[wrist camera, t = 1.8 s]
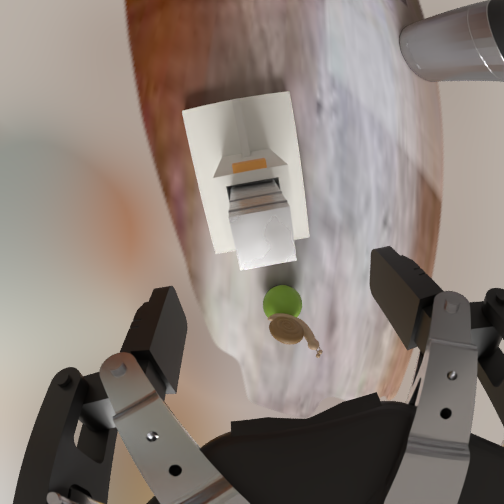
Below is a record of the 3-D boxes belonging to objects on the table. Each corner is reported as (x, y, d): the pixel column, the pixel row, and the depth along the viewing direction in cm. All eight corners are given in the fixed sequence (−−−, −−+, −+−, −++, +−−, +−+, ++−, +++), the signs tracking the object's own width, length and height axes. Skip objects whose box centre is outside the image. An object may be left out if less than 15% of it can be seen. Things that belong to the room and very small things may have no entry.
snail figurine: (296, 311, 43) (312, 369, 32) (257, 304, 42) (263, 365, 31) (309, 283, 40) (331, 339, 30) (267, 274, 39) (278, 332, 29)
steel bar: (232, 165, 30) (227, 216, 14) (262, 160, 29) (290, 205, 14) (238, 193, 31) (239, 271, 16) (267, 188, 31) (297, 260, 16)
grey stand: (185, 111, 29) (149, 106, 17) (286, 92, 29) (319, 75, 16) (216, 247, 37) (207, 314, 25) (305, 231, 37) (339, 291, 24)
